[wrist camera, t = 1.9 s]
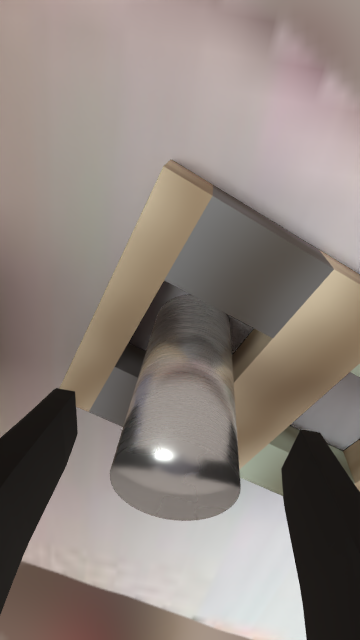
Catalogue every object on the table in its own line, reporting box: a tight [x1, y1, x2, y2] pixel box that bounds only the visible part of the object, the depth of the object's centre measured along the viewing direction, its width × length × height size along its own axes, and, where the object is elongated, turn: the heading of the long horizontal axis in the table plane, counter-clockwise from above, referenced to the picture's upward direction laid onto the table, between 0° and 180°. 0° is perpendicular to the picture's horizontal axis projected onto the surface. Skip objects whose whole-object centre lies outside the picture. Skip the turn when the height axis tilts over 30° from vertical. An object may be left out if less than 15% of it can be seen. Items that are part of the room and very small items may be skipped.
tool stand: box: [59, 160, 360, 496], centre depth 16 cm, size 18×12×2 cm
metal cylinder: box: [110, 295, 240, 521], centre depth 12 cm, size 4×4×8 cm
